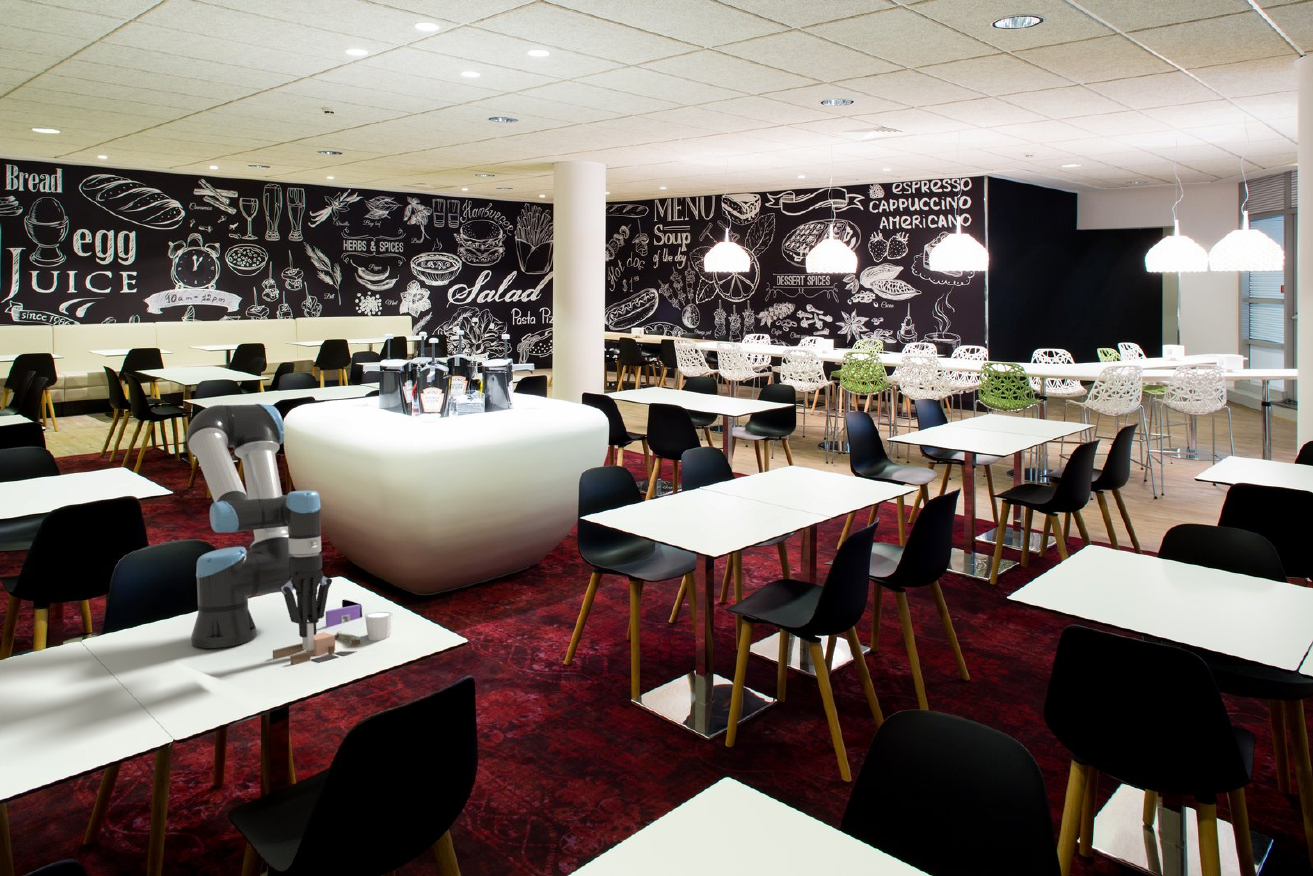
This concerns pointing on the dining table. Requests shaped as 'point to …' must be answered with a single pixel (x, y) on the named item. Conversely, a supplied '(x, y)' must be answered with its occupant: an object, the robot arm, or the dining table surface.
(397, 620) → the dining table surface
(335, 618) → the miniature room corner
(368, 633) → the white cup
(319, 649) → the block
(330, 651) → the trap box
